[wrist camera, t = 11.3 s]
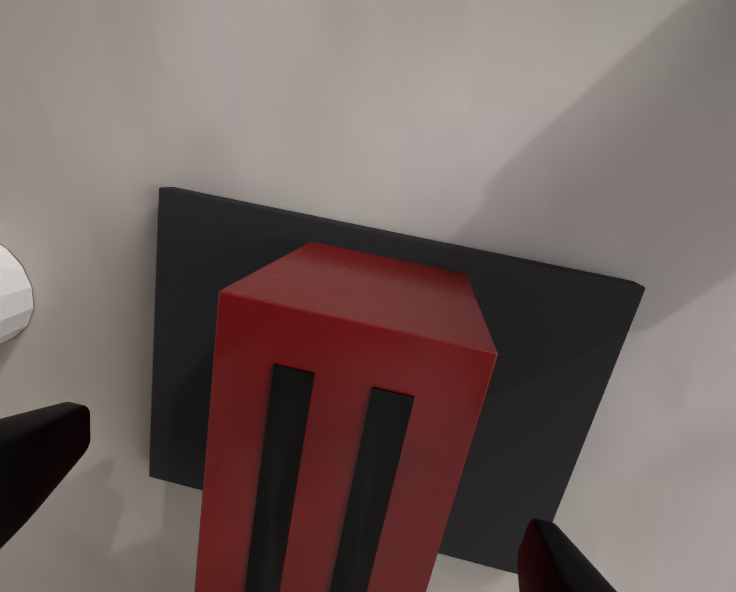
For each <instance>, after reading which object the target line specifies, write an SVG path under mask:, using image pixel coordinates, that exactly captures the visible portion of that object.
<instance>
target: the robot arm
mask: <svg viewBox="0 0 736 592" xmlns="http://www.w3.org/2000/svg"><path fill="white" fill-rule="evenodd" d="M89 443H90V411H89V409H88V408H87V407H86V406H84V405H80V404H76V403H72V402H64V403H60V404H56V405H52V406H48V407H44V408H40V409H36V410H33V411H29V412H25V413H21V414H17V415H13V416H9V417H5V418H1V419H0V549H1V548H2V547H3V546H4V545H5V544H6V543H7V542H8V541H9V540H10V539H11V538H12V537H13V536H14V534H15V533H16V532H17V531H18V530H19V529H20V528H21V527H22V526H23V525H24V524H25V523H26V522H27V521H28V520H29V519H30V517H31V516H32V515H33V514H34V513H35V512H36V511H37V509H38V508H39V507H40V506H41V505H42V504H43V502H44V501H45V500H46V499H47V498H48V496H49V495H50V494H51V493H52V492H53V490H54V489H55V488H56V487H57V486H58V484H59V483H60V482H61V481H62V480H63V478H64V477H65V476H66V475H67V474H68V472H69V471H70V470H71V469H72V468H73V466H74V465H75V464H76V463H77V462H78V460H79V459H80V458H81V457H82V456H83V455H84V453H85V452H86V450H87V448H88V446H89ZM517 569H518V580H519V591H520V592H617V591H616V590H615V589H614V588H613V587H612V586H611V585H610V584H609V583H608V581H607V580H606V579H605V578H604V577H603V576H602V575H601V574H600V573H599V571H598V570H597V569H596V568H595V567H594V566H593V565H592V564H591V563H590V562H589V560H588V559H587V558H586V557H585V556H584V555H583V554H582V553H581V552H580V550H579V549H578V548H577V547H576V546H575V545H574V544H573V543H572V542H571V540H570V539H569V538H568V537H567V536H566V535H565V534H564V533H563V532H562V531H561V529H560V528H559V527H558V526H557V525H556V524H554V523H552V522H548V521H544V520H540V519H536V518H534V519H531V520H530V522H529V524H528V526H527V529H526V531H525V534H524V537H523V539H522V542H521V545H520V548H519V550H518V555H517Z"/></svg>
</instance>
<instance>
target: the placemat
mask: <svg viewBox="0 0 736 592" xmlns="http://www.w3.org/2000/svg"><path fill="white" fill-rule="evenodd" d="M309 242H317V243H322V244H326V245H331V246H336V247H341V248H345V249H350V250H355V251H360V252H364V253H369V254H374V255H379V256H384V257H388V258H393V259H398V260H403V261H407V262H412V263H417V264H422V265H426V266H431V267H436V268H441V269H446V270H450V271H455V272H460V273H465V274H466V275H467V278H468V280H469V283H470V285H471V288H472V290H473V293H474V295H475V298H476V300H477V303H478V305H479V308H480V310H481V313H482V315H483V318H484V320H485V323H486V325H487V328H488V330H489V333H490V335H491V338H492V340H493V343H494V345H495V347H496V350H497V352H498V356H497V359H496V362H495V366H494V369H493V372H492V376H491V379H490V382H489V385H488V389H487V392H486V395H485V399H484V402H483V405H482V409H481V412H480V415H479V418H478V422H477V425H476V428H475V432H474V435H473V438H472V442H471V445H470V448H469V451H468V455H467V458H466V461H465V465H464V468H463V471H462V475H461V478H460V481H459V484H458V488H457V491H456V494H455V498H454V501H453V504H452V508H451V511H450V514H449V517H448V521H447V524H446V527H445V531H444V534H443V537H442V541H441V544H440V547H439V550H438V553H440V554H444V555H448V556H452V557H455V558H459V559H463V560H467V561H471V562H474V563H478V564H482V565H486V566H489V567H493V568H497V569H501V570H504V571H508V572H512V573H516V574H518V569H517V555H518V550H519V548H520V545H521V542H522V539H523V537H524V534H525V531H526V529H527V526H528V524H529V522H530V520H531V519H534V518H536V519H540V520H544V521H548V522H553V519H554V517H555V514H556V512H557V509H558V507H559V504H560V502H561V499H562V497H563V494H564V492H565V489H566V487H567V484H568V482H569V479H570V477H571V474H572V472H573V469H574V467H575V464H576V462H577V459H578V457H579V454H580V451H581V449H582V446H583V444H584V441H585V439H586V436H587V434H588V431H589V429H590V426H591V424H592V421H593V419H594V416H595V414H596V411H597V409H598V406H599V404H600V401H601V399H602V396H603V394H604V391H605V389H606V386H607V384H608V381H609V379H610V376H611V374H612V371H613V368H614V366H615V363H616V361H617V358H618V356H619V353H620V351H621V348H622V346H623V343H624V341H625V338H626V336H627V333H628V331H629V328H630V326H631V323H632V321H633V318H634V316H635V313H636V311H637V308H638V306H639V303H640V301H641V298H642V296H643V293H644V291H645V287H644V286H642V285H640V284H638V283H636V282H634V281H629V280H624V279H619V278H615V277H610V276H605V275H600V274H595V273H590V272H585V271H580V270H575V269H571V268H566V267H561V266H556V265H551V264H546V263H541V262H536V261H531V260H527V259H522V258H517V257H512V256H507V255H502V254H497V253H492V252H488V251H483V250H478V249H473V248H468V247H463V246H458V245H453V244H448V243H444V242H439V241H434V240H429V239H424V238H419V237H414V236H409V235H405V234H400V233H395V232H390V231H385V230H380V229H375V228H370V227H365V226H361V225H356V224H351V223H346V222H341V221H336V220H331V219H326V218H321V217H317V216H312V215H307V214H302V213H297V212H292V211H287V210H282V209H278V208H273V207H268V206H263V205H258V204H253V203H248V202H243V201H238V200H234V199H229V198H224V197H219V196H214V195H209V194H204V193H199V192H195V191H190V190H185V189H180V188H175V187H161V188H159V212H158V241H157V270H156V299H155V328H154V357H153V386H152V415H151V444H150V473H149V476H150V477H154V478H158V479H161V480H165V481H169V482H173V483H177V484H180V485H184V486H188V487H192V488H195V489H199V490H203V482H204V470H205V458H206V445H207V433H208V421H209V408H210V396H211V384H212V372H213V359H214V347H215V335H216V323H217V310H218V298H219V291H220V290H222V289H224V288H226V287H227V286H229V285H231V284H233V283H235V282H237V281H239V280H240V279H242V278H244V277H246V276H248V275H250V274H252V273H253V272H255V271H257V270H259V269H261V268H263V267H265V266H266V265H268V264H270V263H272V262H274V261H276V260H278V259H279V258H281V257H283V256H285V255H287V254H289V253H291V252H292V251H294V250H296V249H298V248H300V247H302V246H304V245H305V244H307V243H309Z"/></svg>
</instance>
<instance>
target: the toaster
mask: <svg viewBox="0 0 736 592" xmlns="http://www.w3.org/2000/svg"><path fill="white" fill-rule="evenodd" d="M497 356H498V352H497V350H496V347H495V345H494V343H493V340H492V338H491V335H490V333H489V330H488V328H487V325H486V323H485V320H484V318H483V315H482V313H481V310H480V308H479V305H478V303H477V300H476V298H475V295H474V293H473V290H472V288H471V285H470V283H469V280H468V278H467V275H466V274H465V273H460V272H455V271H450V270H446V269H441V268H436V267H431V266H426V265H422V264H417V263H412V262H407V261H403V260H398V259H393V258H388V257H384V256H379V255H374V254H369V253H364V252H360V251H355V250H350V249H345V248H341V247H336V246H331V245H326V244H322V243H317V242H309V243H307V244H305V245H304V246H302V247H300V248H298V249H296V250H294V251H292V252H291V253H289V254H287V255H285V256H283V257H281V258H279V259H278V260H276V261H274V262H272V263H270V264H268V265H266V266H265V267H263V268H261V269H259V270H257V271H255V272H253V273H252V274H250V275H248V276H246V277H244V278H242V279H240V280H239V281H237V282H235V283H233V284H231V285H229V286H227V287H226V288H224V289H222V290H220V291H219V298H218V310H217V323H216V335H215V347H214V359H213V372H212V384H211V396H210V408H209V421H208V433H207V445H206V458H205V470H204V482H203V494H202V507H201V519H200V531H199V543H198V556H197V568H196V580H195V592H426V590H427V587H428V583H429V580H430V577H431V574H432V570H433V567H434V564H435V560H436V557H437V554H438V550H439V547H440V544H441V541H442V537H443V534H444V531H445V527H446V524H447V521H448V517H449V514H450V511H451V508H452V504H453V501H454V498H455V494H456V491H457V488H458V484H459V481H460V478H461V475H462V471H463V468H464V465H465V461H466V458H467V455H468V451H469V448H470V445H471V442H472V438H473V435H474V432H475V428H476V425H477V422H478V418H479V415H480V412H481V409H482V405H483V402H484V399H485V395H486V392H487V389H488V385H489V382H490V379H491V376H492V372H493V369H494V366H495V362H496V359H497Z"/></svg>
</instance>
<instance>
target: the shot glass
mask: <svg viewBox="0 0 736 592" xmlns="http://www.w3.org/2000/svg"><path fill="white" fill-rule="evenodd" d="M33 308H34V307H33V296H32V287H31V285H30V283H29V280H28V278H27V276H26V274H25V272H24V269H23V267H22V266H21V264H20V263H19V262H18V261H17V260H16V259H15V258H14V257H13V255H12V254H11V253H10V252H9V251H8V250H7V249H6V248H5V247H3V246H1V245H0V343H2V342H4V341H6V340H9V339H11V338H13V337H15V336H16V335H17V334H19V333H20V332H21V331H22V330H23V329H24V328H25V327H26V326H27V325H28V323H29V320H30V317H31V314H32V311H33Z"/></svg>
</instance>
